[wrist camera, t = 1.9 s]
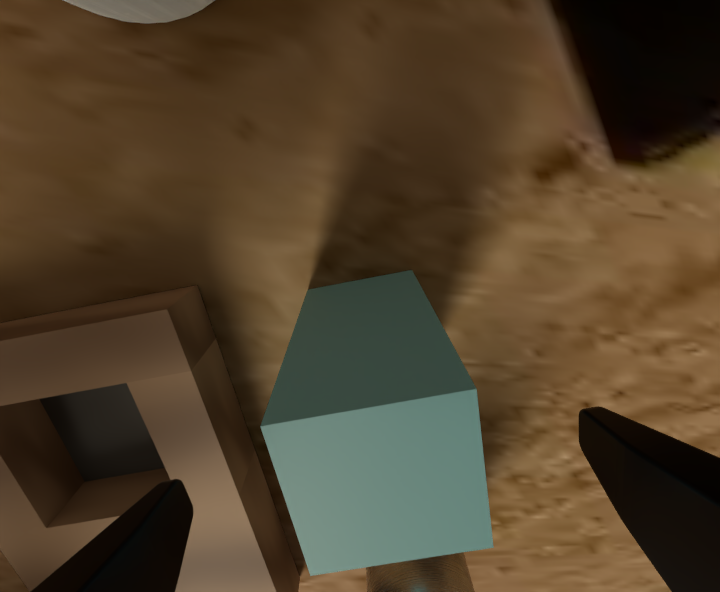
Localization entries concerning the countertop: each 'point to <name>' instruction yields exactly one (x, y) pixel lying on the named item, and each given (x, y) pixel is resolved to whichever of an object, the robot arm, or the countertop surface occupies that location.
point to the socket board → (131, 441)
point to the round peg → (422, 575)
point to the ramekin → (143, 9)
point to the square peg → (377, 430)
